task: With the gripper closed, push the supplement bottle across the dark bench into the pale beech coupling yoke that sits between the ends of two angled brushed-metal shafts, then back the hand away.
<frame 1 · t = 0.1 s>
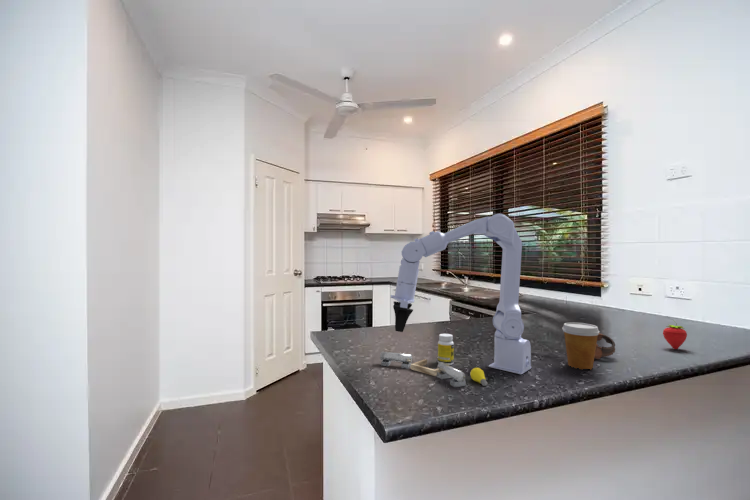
hand: (398, 328, 105), 11 cm above the countertop, tool pointing down, fingers open, 7 cm apart
strawberry: (674, 349, 125), on the countertop
disposable coffee cup: (580, 367, 104), on the countertop
coupling seat: (430, 369, 101), on the countertop
light bulb: (479, 383, 91), on the countertop
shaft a: (396, 359, 104), on the countertop
pottery mug: (593, 356, 116), on the countertop
shaft b: (450, 374, 91), on the countertop
supplement bottle: (445, 363, 107), on the countertop
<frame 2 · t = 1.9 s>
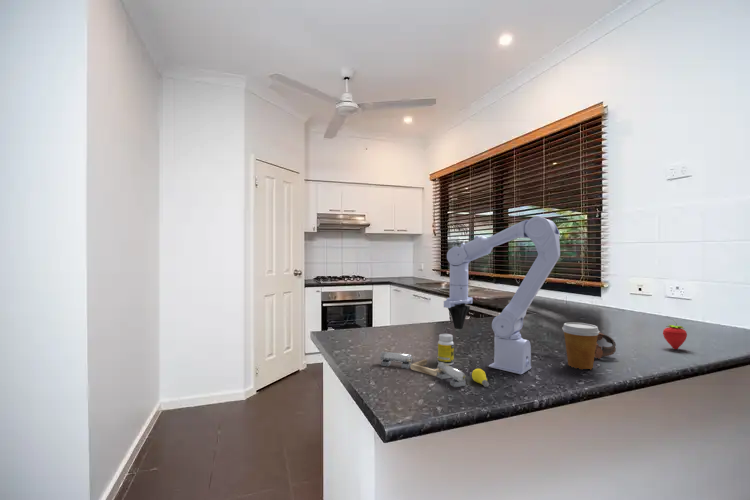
hand: (458, 328, 112), 9 cm above the countertop, tool pointing down, fingers closed
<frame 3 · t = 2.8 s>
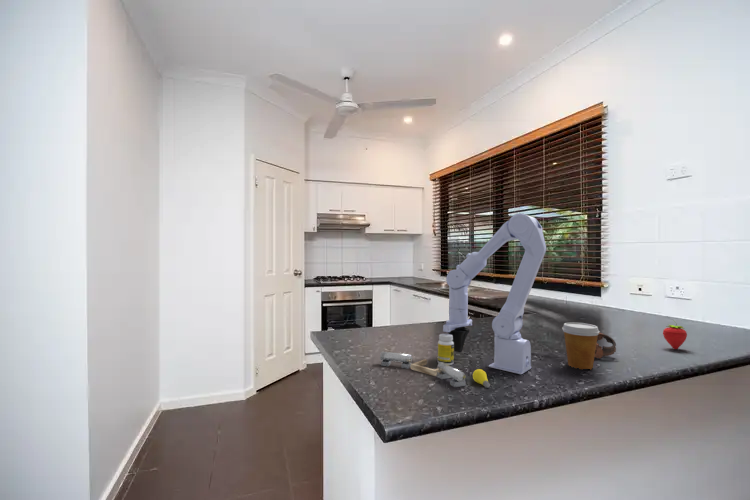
hand: (458, 351, 112), 2 cm above the countertop, tool pointing down, fingers closed
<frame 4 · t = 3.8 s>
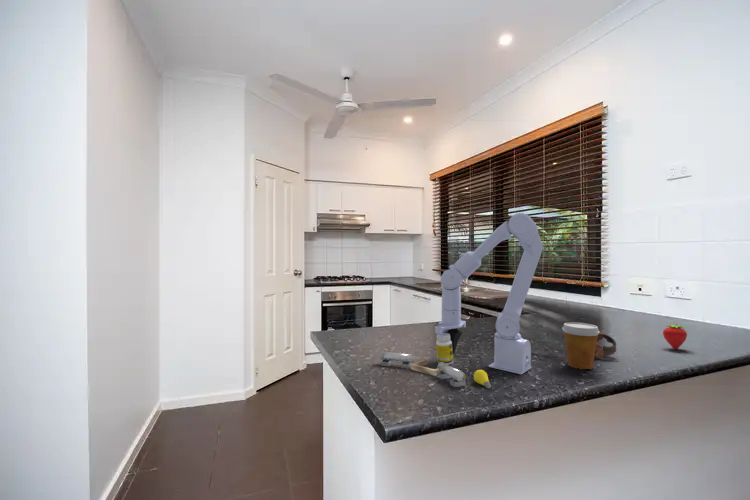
hand: (450, 353, 109), 2 cm above the countertop, tool pointing down, fingers closed
supplement bottle: (445, 362, 107), on the countertop, touching gripper
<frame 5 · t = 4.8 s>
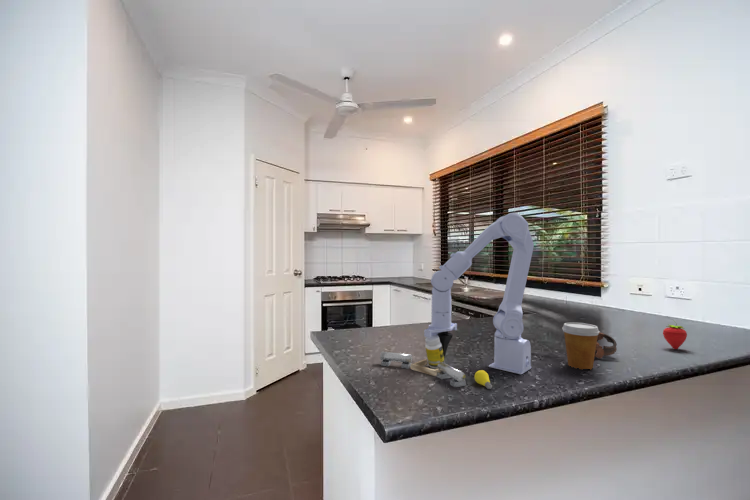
hand: (441, 357, 105), 2 cm above the countertop, tool pointing down, fingers closed, pressing on supplement bottle
supplement bottle: (436, 364, 103), on the countertop, touching gripper
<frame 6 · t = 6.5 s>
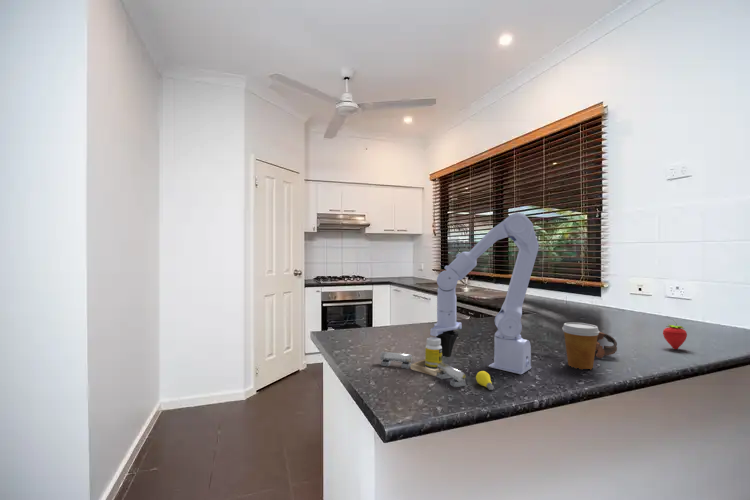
hand: (446, 356, 107), 2 cm above the countertop, tool pointing down, fingers closed
supplement bottle: (433, 369, 102), on the countertop
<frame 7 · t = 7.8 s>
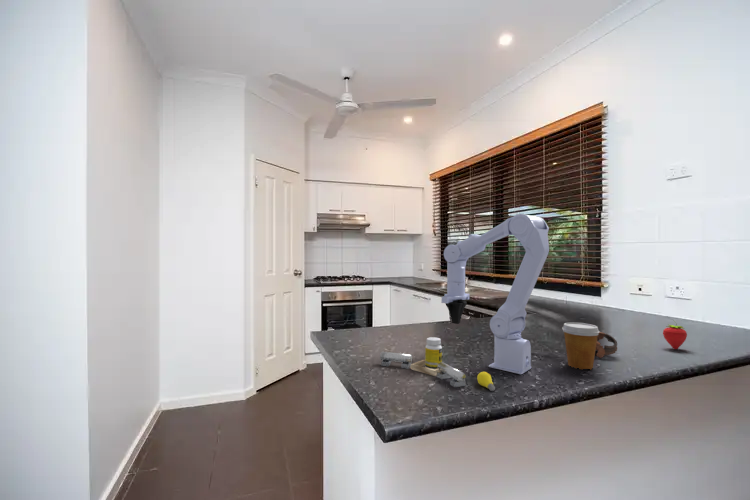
hand: (455, 323, 117), 10 cm above the countertop, tool pointing down, fingers closed
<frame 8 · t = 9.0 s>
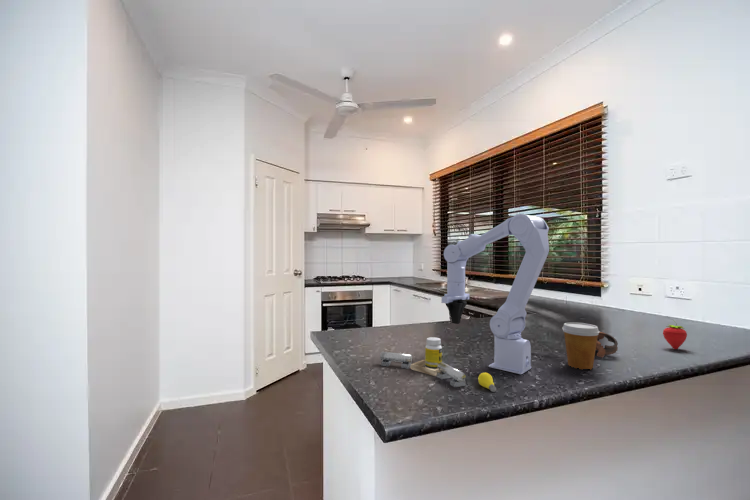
hand: (455, 323, 117), 10 cm above the countertop, tool pointing down, fingers closed
at the end: supplement bottle 1.2 cm off-centre on the coupling seat, point 0.0 cm above the coupling seat's base; supplement bottle tilted 0°; the gripper is holding nothing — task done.
